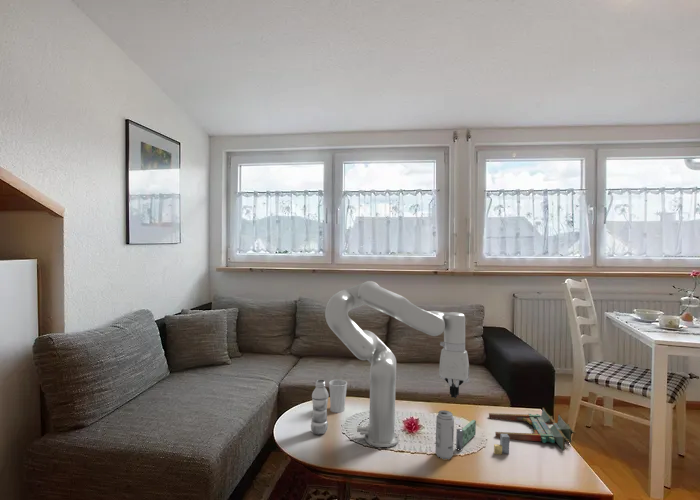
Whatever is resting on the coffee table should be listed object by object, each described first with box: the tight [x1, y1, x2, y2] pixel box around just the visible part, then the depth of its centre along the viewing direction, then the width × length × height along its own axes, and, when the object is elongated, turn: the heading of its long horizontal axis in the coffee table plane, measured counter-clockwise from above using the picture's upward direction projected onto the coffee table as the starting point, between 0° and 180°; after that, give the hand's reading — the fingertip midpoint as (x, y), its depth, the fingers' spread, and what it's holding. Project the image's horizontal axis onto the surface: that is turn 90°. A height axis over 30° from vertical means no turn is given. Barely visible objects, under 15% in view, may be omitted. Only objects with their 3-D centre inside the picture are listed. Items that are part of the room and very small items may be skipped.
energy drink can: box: [435, 410, 455, 460], centre depth 139 cm, size 6×6×15 cm
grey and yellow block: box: [493, 434, 510, 456], centre depth 142 cm, size 5×3×6 cm, turn 86°
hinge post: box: [455, 428, 464, 450], centre depth 144 cm, size 2×2×7 cm
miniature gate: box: [488, 407, 577, 451], centre depth 160 cm, size 27×6×30 cm
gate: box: [461, 419, 477, 447], centre depth 150 cm, size 12×1×6 cm, turn 141°
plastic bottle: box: [310, 379, 330, 435], centre depth 154 cm, size 6×7×20 cm
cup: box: [328, 379, 348, 414], centre depth 176 cm, size 8×8×12 cm
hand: (454, 396), depth 146 cm, fingers closed
